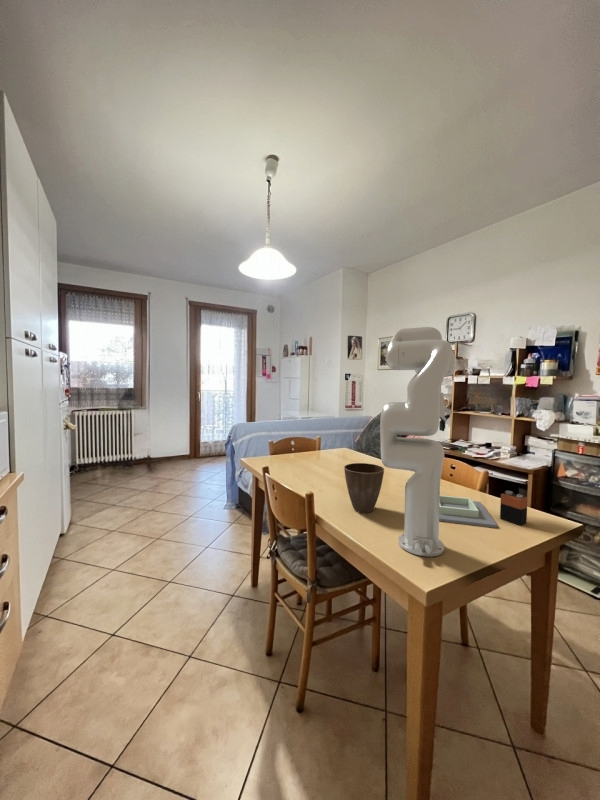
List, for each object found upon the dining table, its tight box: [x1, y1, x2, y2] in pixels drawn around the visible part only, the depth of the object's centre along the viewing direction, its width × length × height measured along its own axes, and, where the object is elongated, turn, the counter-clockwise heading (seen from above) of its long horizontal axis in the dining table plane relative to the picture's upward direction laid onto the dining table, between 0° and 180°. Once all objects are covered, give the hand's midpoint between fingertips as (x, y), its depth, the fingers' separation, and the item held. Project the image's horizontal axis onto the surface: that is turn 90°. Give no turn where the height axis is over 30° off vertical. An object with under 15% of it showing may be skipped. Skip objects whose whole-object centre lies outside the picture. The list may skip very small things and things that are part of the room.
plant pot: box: [343, 462, 385, 514], centre depth 120 cm, size 15×15×16 cm
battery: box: [499, 490, 528, 526], centre depth 110 cm, size 4×7×10 cm, turn 31°
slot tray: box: [439, 494, 498, 529], centre depth 118 cm, size 22×22×4 cm
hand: (430, 430), depth 130 cm, fingers open, 9 cm apart
